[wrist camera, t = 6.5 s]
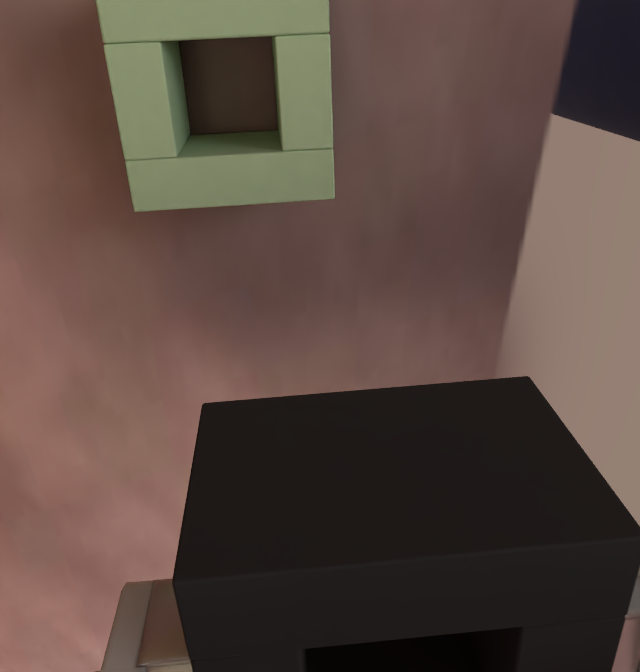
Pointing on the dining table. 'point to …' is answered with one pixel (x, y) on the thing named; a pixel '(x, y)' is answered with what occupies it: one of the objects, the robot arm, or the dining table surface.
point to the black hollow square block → (401, 536)
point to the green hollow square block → (226, 148)
